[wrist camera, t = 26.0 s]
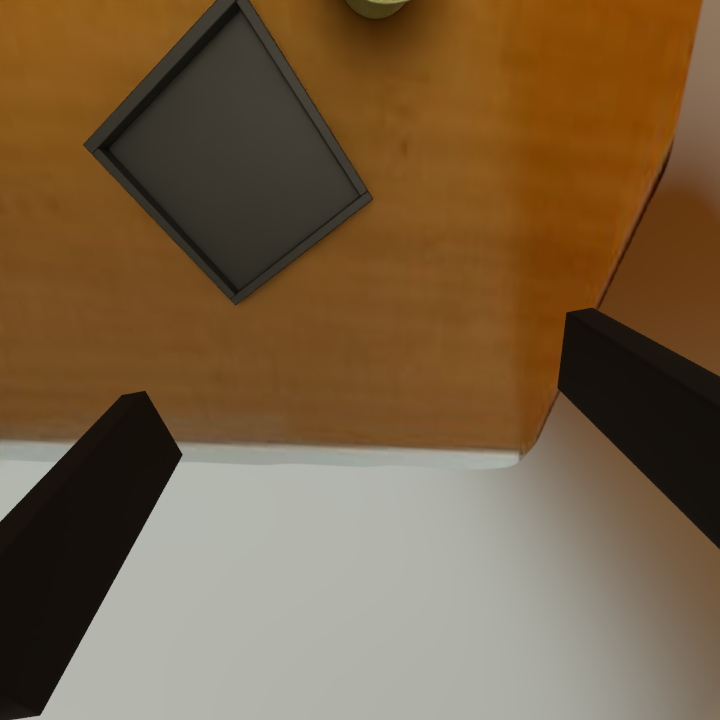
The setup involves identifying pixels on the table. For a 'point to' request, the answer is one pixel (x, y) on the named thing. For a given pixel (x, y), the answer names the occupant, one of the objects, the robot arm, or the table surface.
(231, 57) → the drip tray
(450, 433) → the table surface
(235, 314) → the table surface
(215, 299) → the table surface
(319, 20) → the table surface
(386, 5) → the plant pot
